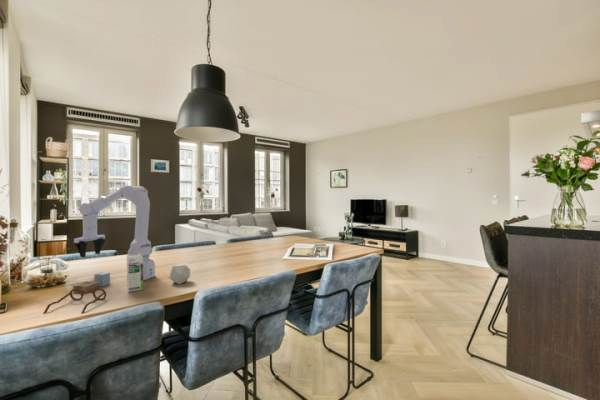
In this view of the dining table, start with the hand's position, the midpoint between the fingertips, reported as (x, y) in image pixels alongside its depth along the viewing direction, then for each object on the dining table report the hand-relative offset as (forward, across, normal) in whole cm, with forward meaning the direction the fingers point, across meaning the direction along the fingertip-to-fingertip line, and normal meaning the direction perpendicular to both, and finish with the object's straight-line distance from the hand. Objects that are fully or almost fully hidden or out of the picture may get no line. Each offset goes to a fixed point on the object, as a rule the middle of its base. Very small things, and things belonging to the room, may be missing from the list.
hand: (90, 255), depth 142 cm
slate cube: (+10, +10, +18) cm, 23 cm away
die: (+10, -1, +50) cm, 51 cm away
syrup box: (+10, +12, +38) cm, 41 cm away
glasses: (+11, +33, +32) cm, 47 cm away
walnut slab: (+10, +18, +19) cm, 28 cm away
